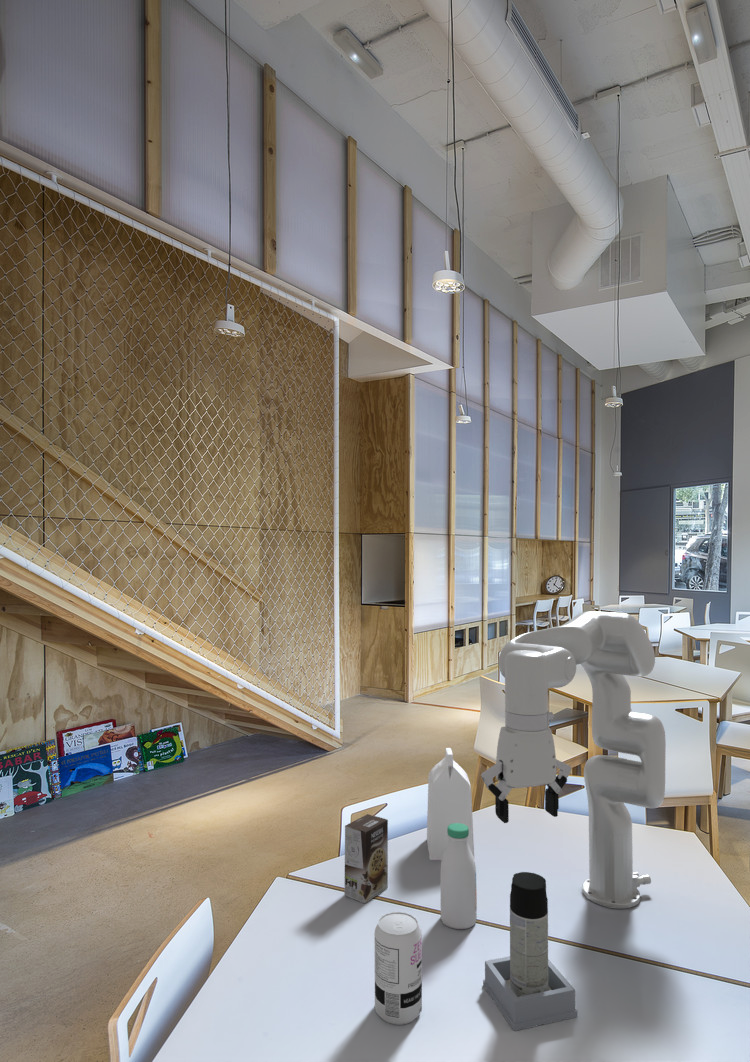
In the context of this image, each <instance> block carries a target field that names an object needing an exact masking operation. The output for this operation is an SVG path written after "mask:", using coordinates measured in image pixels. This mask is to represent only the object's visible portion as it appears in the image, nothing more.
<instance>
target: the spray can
mask: <svg viewBox="0 0 750 1062" xmlns="http://www.w3.org/2000/svg"><path fill="white" fill-rule="evenodd" d="M546 882H547V880H546V878H545V877H543V876H542V875H540V874H537V873H535V872H529V871H528V872H527V871H520V872H517V873H516V872H515V873H514V874H513V877H512V880H511V883H510V884H511V885H510V893H509V956H510V988H511V990H512V991H513V992H514V994H515V995H516V996H517V997H521V996H526V995H530V994H535V993H540V992H545V991H548V959H549V905H548V904H549V903H548V901H549V900H548V897H547V883H546Z"/></svg>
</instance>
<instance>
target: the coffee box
mask: <svg viewBox="0 0 750 1062" xmlns="http://www.w3.org/2000/svg"><path fill="white" fill-rule="evenodd" d="M388 820H389V819H387V818H384V817H381V816H376V815H372V814H368V813H367V814H365V815H363V816H361V817H359V818H357V819H355V820H354V821H351V822H350V823H347V824H346V825H344V887H343V888H344V891H343V892H344V896H346V895H347V896H346V897H348V898H350V897H351V899H353V900H355V901H356V902H360V903H362V904H366V903H367V902H369V901H371V900H372V899H373V898H375V897H377V896H379V894H381V893H382V892H384V891H386V890H387V889H388V887H389V886H388V885H389V881H388V879H389V877H388V875H389V872H388V871H389V869H388V868H389V862H388V861H389V860H388V859H389V855H388V854H389V853H388V851H389V849H388V848H389V847H388V845H389V843H388V841H389V840H388V836H389V832H388V831H389V830H388V829H389V828H388V827H389V826H388V825H389V823H388V822H389V821H388Z"/></svg>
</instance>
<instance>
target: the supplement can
mask: <svg viewBox="0 0 750 1062" xmlns="http://www.w3.org/2000/svg"><path fill="white" fill-rule="evenodd" d="M422 932H423V931H422V929H421V926H420V925H419V921H418V920H417V918H416V917H415V916H414V915H412V914H410V913H406V912H402V911H401V912H400V911H393V912H388V913H385V914H384V915H381V916H380V917H379V919H378V922H377V923H376V926H375V928H374V1009H375V1011H376V1014H377V1015H378V1016H379V1017H380V1018H381V1019H382V1020H383V1021H385V1022H387V1024H392V1025H396V1026H397V1025H398V1026H401V1025H406V1024H409V1023H412V1022H413V1021H414V1020H416V1019H417V1018H418V1017H419V1016H420V1014H421V1013H422V1010H423V996H422V995H423V992H422V991H423V988H422V987H423V983H422V981H423V979H422V978H423V971H422V970H423V966H422V963H423V962H422V961H423V960H422V959H423V958H422V957H423V955H422V953H423V951H422V948H423V947H422V946H423V945H422V944H423V942H422V939H423V937H422V936H423V935H422Z"/></svg>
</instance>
